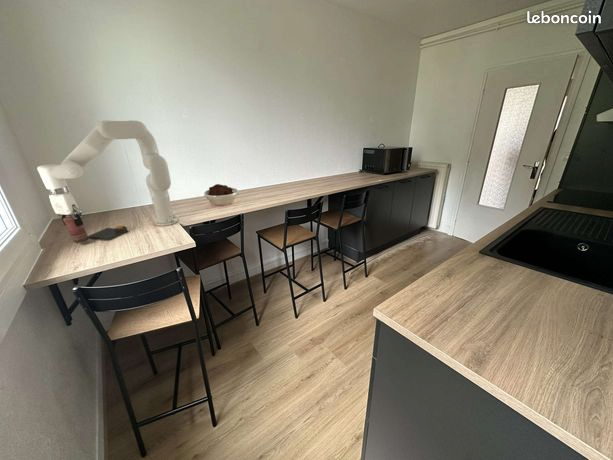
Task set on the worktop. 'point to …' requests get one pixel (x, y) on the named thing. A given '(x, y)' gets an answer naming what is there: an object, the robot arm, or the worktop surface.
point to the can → (75, 230)
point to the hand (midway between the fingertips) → (74, 224)
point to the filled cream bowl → (221, 194)
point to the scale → (108, 233)
